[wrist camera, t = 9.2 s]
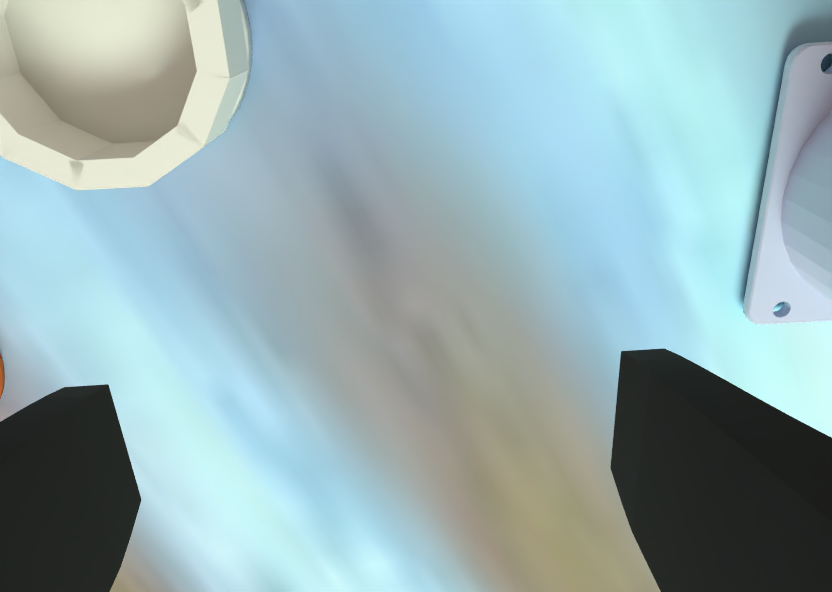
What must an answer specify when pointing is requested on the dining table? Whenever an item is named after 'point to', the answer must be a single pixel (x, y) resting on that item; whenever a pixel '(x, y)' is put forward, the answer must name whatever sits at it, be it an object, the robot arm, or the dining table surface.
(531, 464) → the dining table surface
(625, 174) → the dining table surface
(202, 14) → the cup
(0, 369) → the coffee cup
